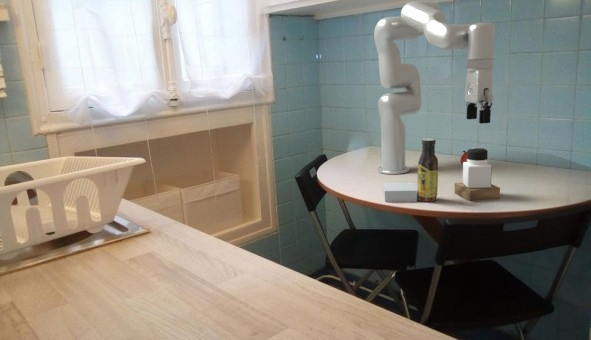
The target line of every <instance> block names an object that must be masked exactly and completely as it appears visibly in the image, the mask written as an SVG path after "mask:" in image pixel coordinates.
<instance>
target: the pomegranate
mask: <svg viewBox="0 0 591 340" xmlns="http://www.w3.org/2000/svg"><path fill="white" fill-rule="evenodd" d="M462 153H463V154H462V155H461V156H460V157H461V158H460V164H461V165H462V166H463V162H468V161H467V151H466V150H463V151H462Z"/></svg>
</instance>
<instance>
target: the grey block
mask: <svg viewBox="0 0 591 340" xmlns="http://www.w3.org/2000/svg"><path fill="white" fill-rule="evenodd" d="M383 199H384V203H402V202H403V203H405V202H406V203H407V202H408V203H410V202H411V203H413V202H414V203H417V202H418V194H417V187H416V185H415V183H414V182H384V183H383Z"/></svg>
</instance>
